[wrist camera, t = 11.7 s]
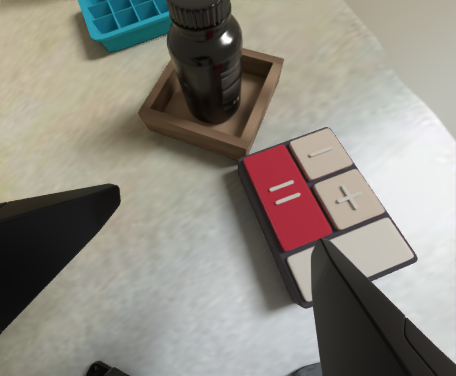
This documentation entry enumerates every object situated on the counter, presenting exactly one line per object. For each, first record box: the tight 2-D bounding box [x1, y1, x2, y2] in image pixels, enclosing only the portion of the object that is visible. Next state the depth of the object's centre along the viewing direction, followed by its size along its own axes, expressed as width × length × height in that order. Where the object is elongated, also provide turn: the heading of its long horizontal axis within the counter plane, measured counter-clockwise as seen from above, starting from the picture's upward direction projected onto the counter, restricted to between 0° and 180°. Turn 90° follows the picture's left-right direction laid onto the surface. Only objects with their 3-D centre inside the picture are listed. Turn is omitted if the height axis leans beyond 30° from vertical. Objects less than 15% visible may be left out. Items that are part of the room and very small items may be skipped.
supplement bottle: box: [166, 0, 242, 123], centre depth 21 cm, size 7×7×12 cm
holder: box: [138, 48, 284, 160], centre depth 26 cm, size 13×13×3 cm
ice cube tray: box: [78, 0, 172, 52], centre depth 32 cm, size 12×20×3 cm, turn 115°
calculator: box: [238, 127, 417, 308], centre depth 21 cm, size 11×4×15 cm
